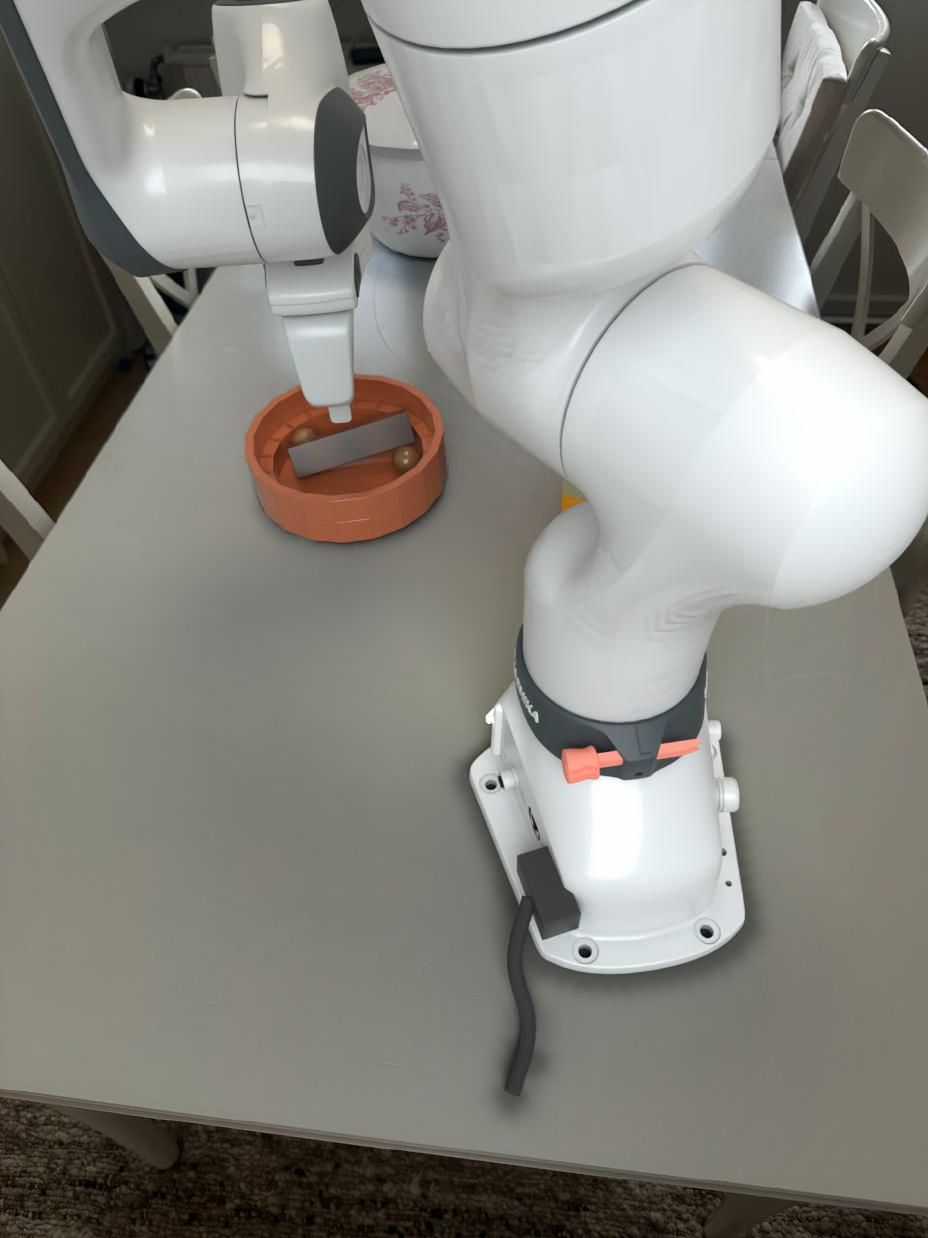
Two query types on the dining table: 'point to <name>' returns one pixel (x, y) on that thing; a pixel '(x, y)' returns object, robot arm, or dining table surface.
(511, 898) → the dining table surface
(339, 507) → the bowl
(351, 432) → the stick
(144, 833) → the dining table surface
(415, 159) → the chamber pot
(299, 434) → the hazelnut
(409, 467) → the hazelnut
